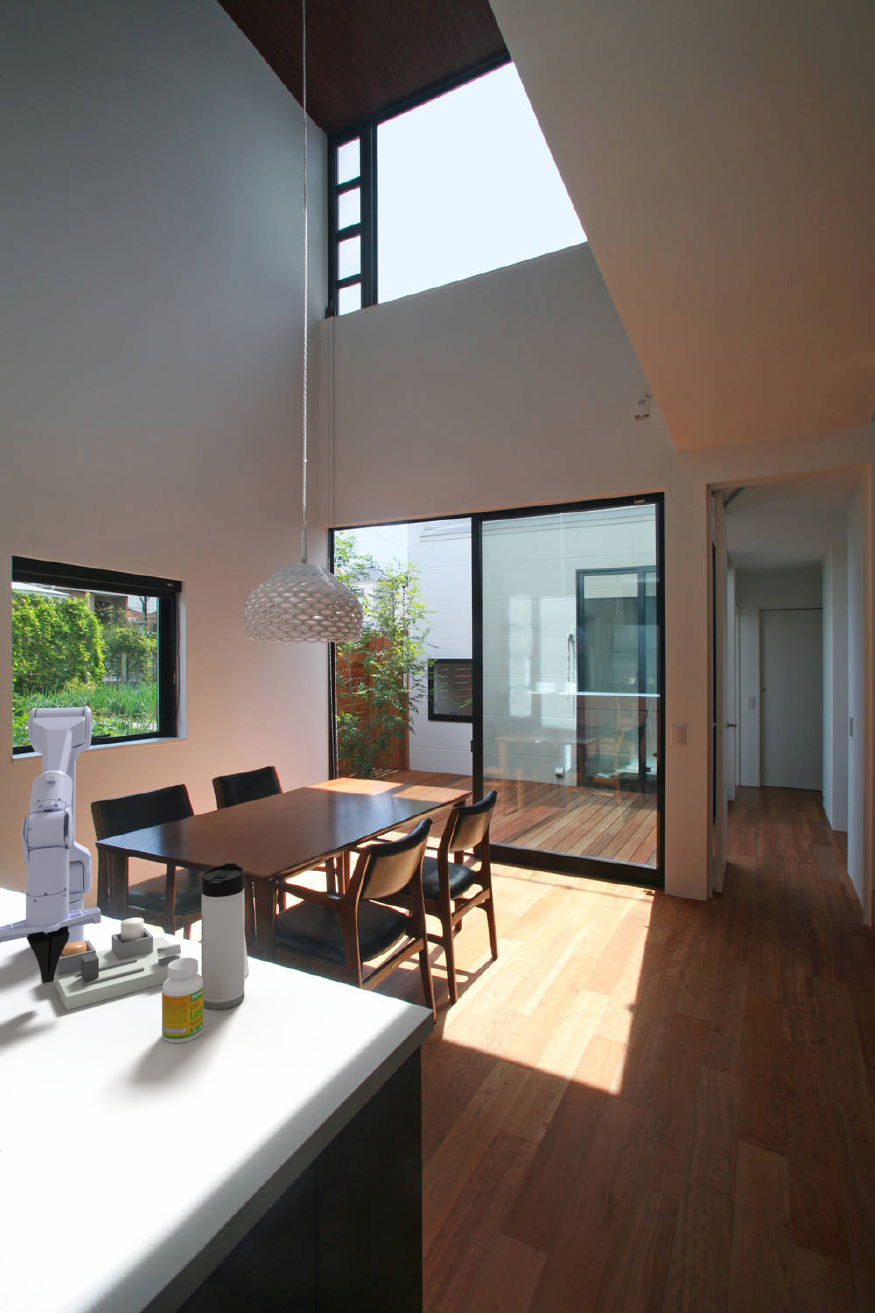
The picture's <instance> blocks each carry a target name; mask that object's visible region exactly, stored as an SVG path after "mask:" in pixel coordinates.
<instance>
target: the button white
mask: <svg viewBox="0 0 875 1313" xmlns="http://www.w3.org/2000/svg"><path fill="white" fill-rule="evenodd" d="M144 924H145V920H144V918H143V917H129V918H126V919H124V920H122V921H121V922H120V933H121V942H123V943H125V942H129V941H133V940H137V939H141V938H144V928H145V925H144Z"/></svg>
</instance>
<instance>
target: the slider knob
mask: <svg viewBox="0 0 875 1313" xmlns="http://www.w3.org/2000/svg"><path fill="white" fill-rule="evenodd" d="M81 976H82V978H83V980H84V981H89V980H93V979H97V978H99V958H98V957H97V955H96V954H95V953H93V954H88V955H84V956H81Z"/></svg>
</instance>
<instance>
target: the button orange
mask: <svg viewBox="0 0 875 1313" xmlns="http://www.w3.org/2000/svg"><path fill="white" fill-rule="evenodd" d="M82 952H86V942H82V941H79V942H72V943H68V944H66V945H65V947H64V949H63V951H62V957H65V956H69V955H74V954H78V953H82Z"/></svg>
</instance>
